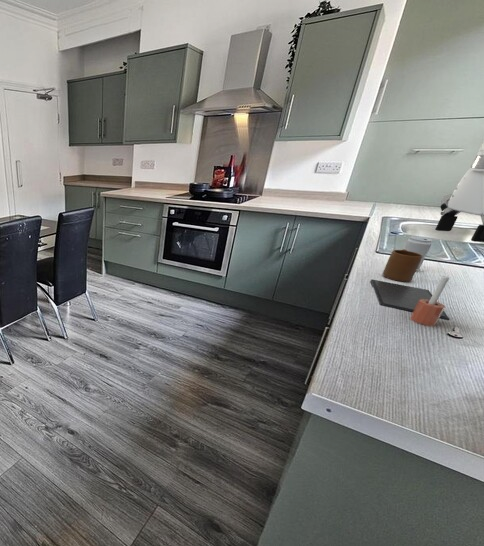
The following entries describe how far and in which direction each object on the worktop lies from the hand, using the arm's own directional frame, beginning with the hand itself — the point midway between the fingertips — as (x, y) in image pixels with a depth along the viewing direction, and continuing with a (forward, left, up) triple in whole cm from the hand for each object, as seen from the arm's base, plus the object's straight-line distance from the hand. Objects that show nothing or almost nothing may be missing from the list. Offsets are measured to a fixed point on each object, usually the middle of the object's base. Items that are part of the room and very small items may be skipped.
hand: (459, 235), depth 79 cm
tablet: (+1, -10, -23) cm, 25 cm away
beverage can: (-5, -46, -23) cm, 52 cm away
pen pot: (0, +6, -23) cm, 24 cm away
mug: (0, -33, -23) cm, 40 cm away
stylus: (0, +6, -22) cm, 23 cm away
